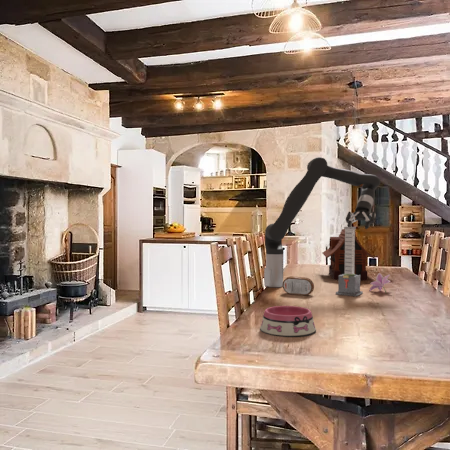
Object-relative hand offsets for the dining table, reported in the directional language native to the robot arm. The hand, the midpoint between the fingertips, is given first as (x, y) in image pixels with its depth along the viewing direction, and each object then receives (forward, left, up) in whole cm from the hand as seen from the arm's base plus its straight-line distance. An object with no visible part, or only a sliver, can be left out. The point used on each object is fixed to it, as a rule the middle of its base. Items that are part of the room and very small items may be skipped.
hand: (357, 227), depth 230 cm
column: (-10, -6, -24) cm, 27 cm away
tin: (-34, +2, -32) cm, 46 cm away
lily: (+8, -8, -32) cm, 34 cm away
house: (+28, +43, -32) cm, 61 cm away
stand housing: (-10, -6, -32) cm, 34 cm away
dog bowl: (-73, -54, -32) cm, 96 cm away
